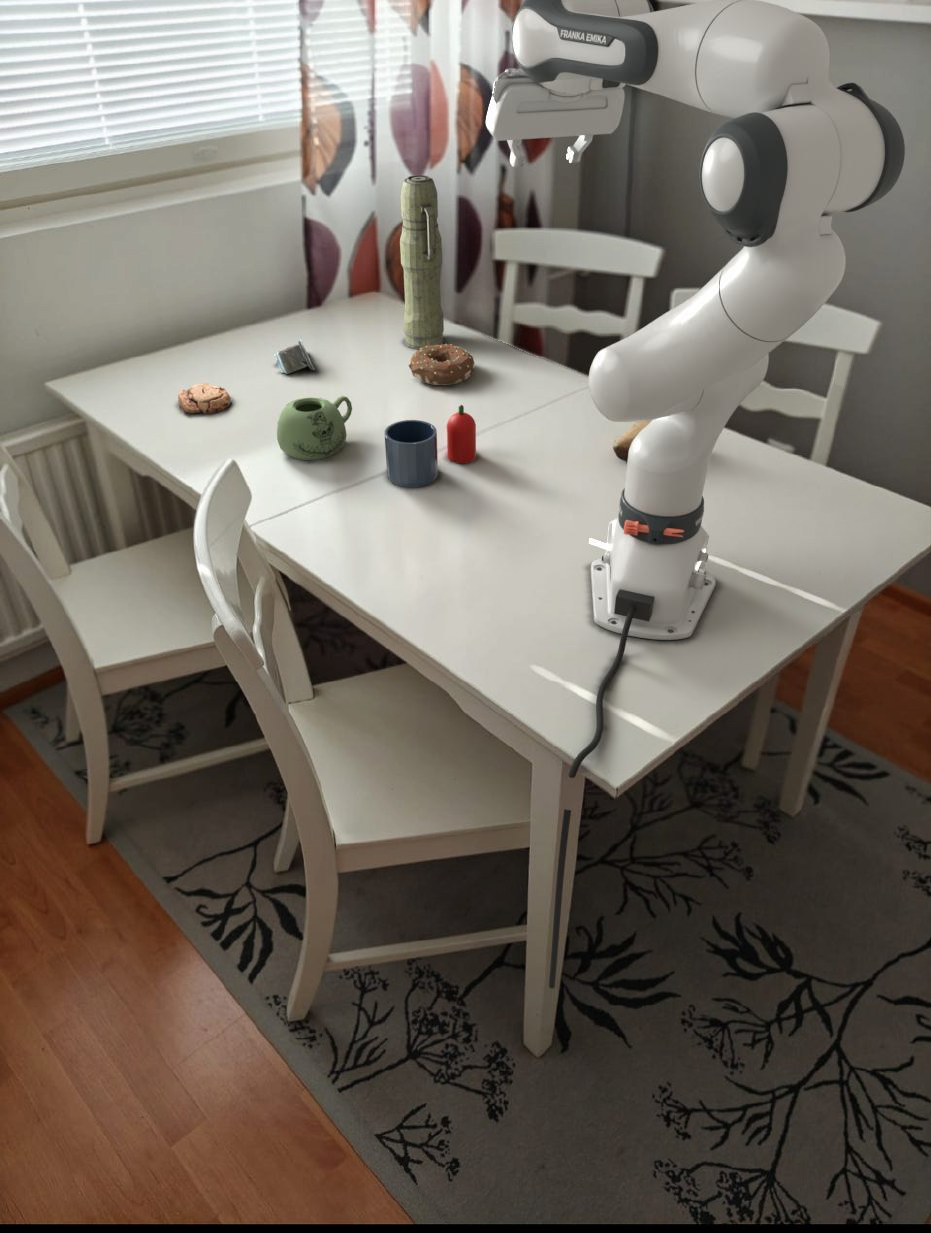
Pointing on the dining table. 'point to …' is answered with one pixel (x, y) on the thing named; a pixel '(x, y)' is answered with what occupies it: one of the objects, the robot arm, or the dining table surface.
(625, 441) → the vegetable
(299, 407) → the mug
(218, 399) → the cookie
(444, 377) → the donut
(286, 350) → the grey blocky piece
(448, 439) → the pepper
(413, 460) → the cup
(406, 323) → the thermos
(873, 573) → the dining table surface
